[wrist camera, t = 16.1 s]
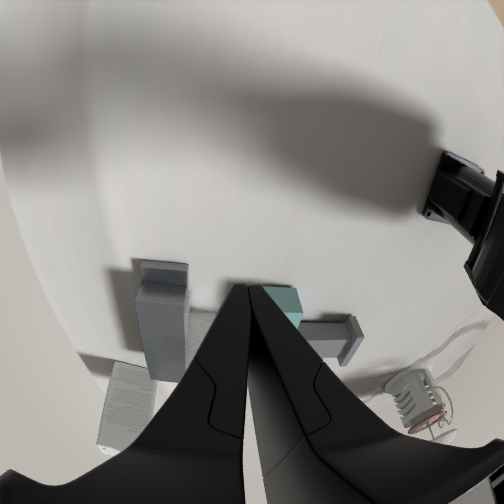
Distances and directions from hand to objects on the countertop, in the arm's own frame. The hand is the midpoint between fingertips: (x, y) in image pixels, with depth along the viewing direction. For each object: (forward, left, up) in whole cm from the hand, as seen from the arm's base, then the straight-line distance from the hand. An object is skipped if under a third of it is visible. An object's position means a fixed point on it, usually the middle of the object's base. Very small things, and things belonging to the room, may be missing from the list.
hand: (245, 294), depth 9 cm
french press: (-33, +29, -13) cm, 46 cm away
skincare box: (+10, +27, -13) cm, 32 cm away
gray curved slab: (+5, +16, -13) cm, 21 cm away
